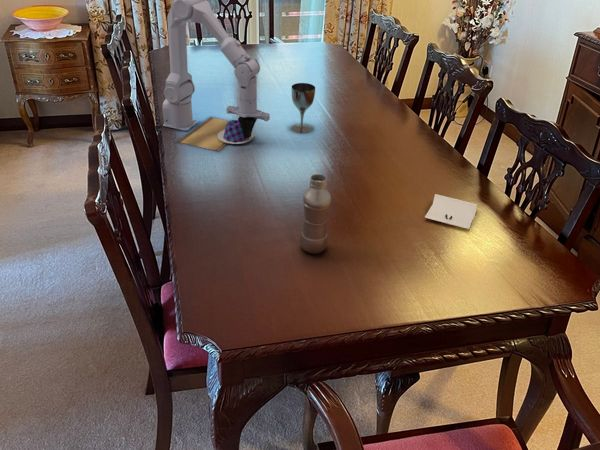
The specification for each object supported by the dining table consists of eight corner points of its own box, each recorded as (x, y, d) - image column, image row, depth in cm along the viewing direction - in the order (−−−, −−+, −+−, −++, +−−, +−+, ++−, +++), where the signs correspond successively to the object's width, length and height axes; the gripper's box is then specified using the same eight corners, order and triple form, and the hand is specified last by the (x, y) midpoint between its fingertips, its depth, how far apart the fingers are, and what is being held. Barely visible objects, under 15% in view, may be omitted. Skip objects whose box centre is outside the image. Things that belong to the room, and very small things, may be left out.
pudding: (229, 127, 191) (229, 113, 188) (260, 135, 187) (260, 120, 184) (210, 140, 182) (209, 125, 179) (241, 149, 178) (241, 134, 175)
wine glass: (310, 134, 189) (312, 92, 181) (287, 131, 191) (289, 89, 182) (314, 125, 196) (317, 84, 187) (292, 122, 197) (294, 81, 189)
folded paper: (423, 220, 148) (425, 214, 147) (433, 199, 158) (435, 193, 156) (469, 232, 144) (470, 226, 143) (476, 210, 154) (478, 204, 153)
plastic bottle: (309, 237, 139) (313, 168, 128) (331, 247, 136) (338, 177, 125) (294, 250, 135) (297, 178, 124) (317, 260, 132) (323, 188, 121)
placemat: (177, 142, 180) (177, 141, 180) (210, 117, 198) (210, 117, 198) (218, 151, 176) (218, 151, 176) (248, 125, 193) (248, 125, 193)
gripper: (221, 97, 174) (222, 137, 182) (263, 106, 170) (263, 146, 178) (231, 90, 179) (232, 129, 187) (272, 98, 175) (272, 137, 183)
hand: (248, 137), depth 183 cm, fingers closed
